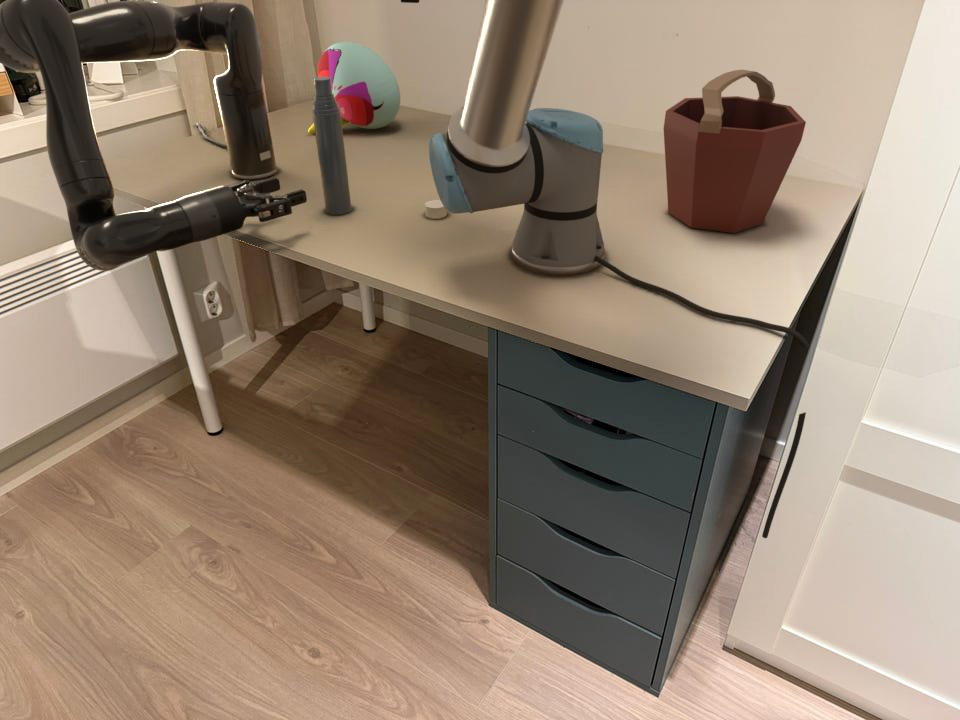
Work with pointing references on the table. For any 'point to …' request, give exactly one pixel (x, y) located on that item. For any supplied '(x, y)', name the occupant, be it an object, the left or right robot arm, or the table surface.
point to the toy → (360, 85)
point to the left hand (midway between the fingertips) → (291, 189)
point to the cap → (435, 209)
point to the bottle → (330, 148)
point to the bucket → (728, 154)
